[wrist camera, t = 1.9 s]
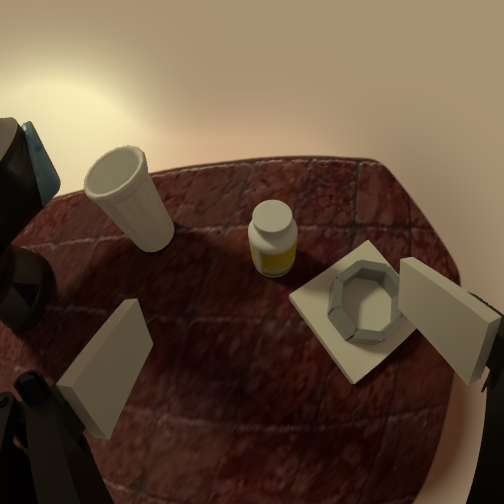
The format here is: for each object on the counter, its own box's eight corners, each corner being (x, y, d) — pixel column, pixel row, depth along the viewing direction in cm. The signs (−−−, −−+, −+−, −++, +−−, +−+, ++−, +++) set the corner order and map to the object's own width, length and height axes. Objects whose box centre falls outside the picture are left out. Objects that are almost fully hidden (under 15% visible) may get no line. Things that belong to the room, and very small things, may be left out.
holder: (288, 298, 33) (290, 285, 29) (365, 245, 36) (374, 227, 32) (350, 383, 28) (362, 383, 24) (423, 318, 30) (440, 307, 26)
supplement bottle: (303, 258, 36) (310, 215, 27) (273, 286, 34) (272, 250, 26) (273, 233, 38) (271, 186, 29) (244, 259, 36) (233, 216, 28)
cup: (180, 207, 41) (148, 137, 29) (182, 253, 38) (140, 186, 25) (133, 218, 41) (90, 156, 29) (130, 263, 38) (76, 206, 25)
